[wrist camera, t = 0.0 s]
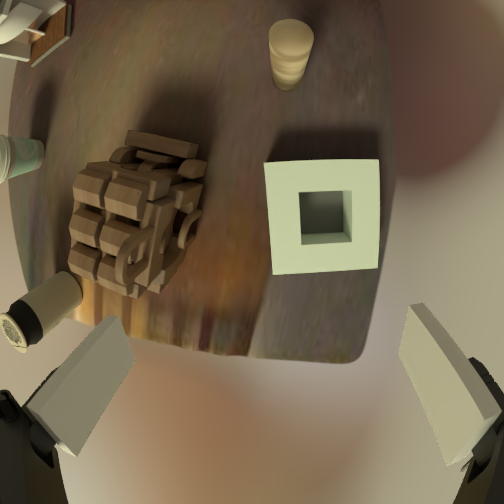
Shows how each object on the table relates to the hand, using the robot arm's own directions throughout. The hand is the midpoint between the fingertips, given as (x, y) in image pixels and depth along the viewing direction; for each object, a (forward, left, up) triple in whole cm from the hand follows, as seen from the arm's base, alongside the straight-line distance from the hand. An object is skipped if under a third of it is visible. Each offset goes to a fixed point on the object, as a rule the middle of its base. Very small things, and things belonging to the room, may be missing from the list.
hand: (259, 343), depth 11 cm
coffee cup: (-17, -43, -28) cm, 54 cm away
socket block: (0, +7, -28) cm, 29 cm away
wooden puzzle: (-2, -17, -28) cm, 33 cm away
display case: (-44, -40, -28) cm, 66 cm away
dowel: (-19, +4, -28) cm, 34 cm away
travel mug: (+11, -41, -28) cm, 51 cm away
